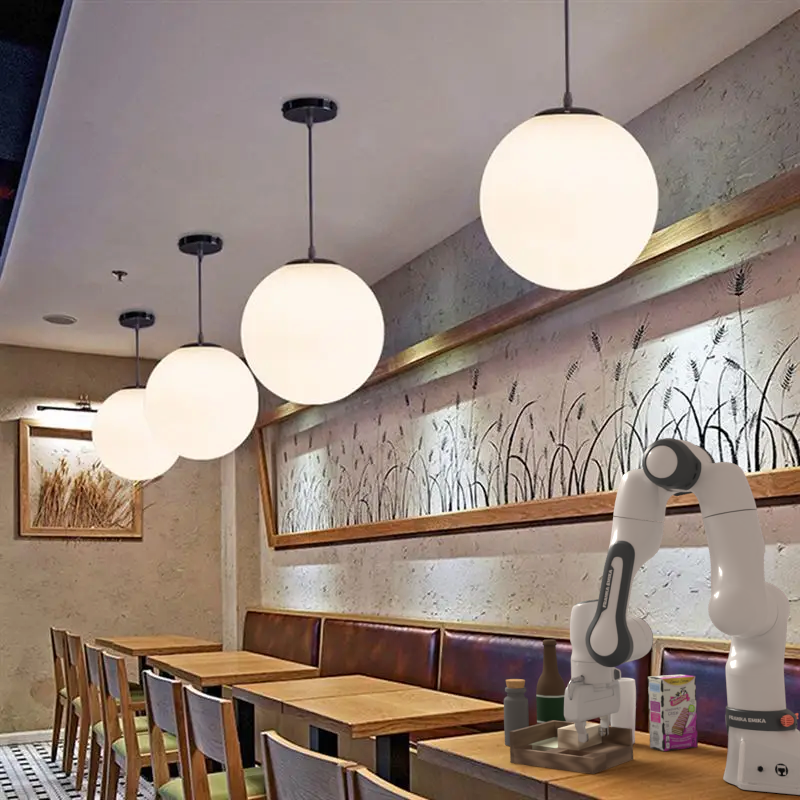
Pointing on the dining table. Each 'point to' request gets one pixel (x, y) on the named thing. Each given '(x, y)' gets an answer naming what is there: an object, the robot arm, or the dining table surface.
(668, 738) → the candy bar box
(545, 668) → the beer bottle
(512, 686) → the bottle
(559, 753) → the brown compartment tray
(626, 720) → the drinking glass
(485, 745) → the dining table surface
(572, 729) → the cream rectangular block
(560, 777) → the dining table surface
